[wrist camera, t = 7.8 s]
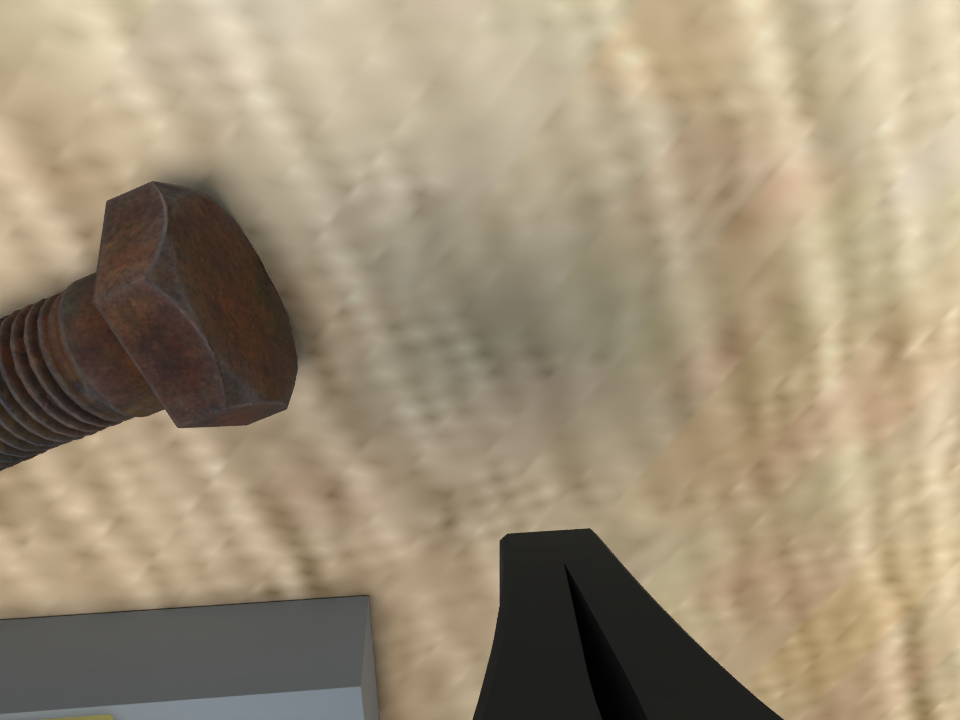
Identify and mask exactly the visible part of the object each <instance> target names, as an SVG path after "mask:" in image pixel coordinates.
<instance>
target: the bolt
mask: <svg viewBox="0 0 960 720" xmlns="http://www.w3.org/2000/svg"><path fill="white" fill-rule="evenodd" d="M297 370H298V365H297V353H296V348H295V345H294V341H293V338H292V334H291V330H290V327H289V323H288V320H287V316H286V313H285V310H284V308H283V305H282V302H281V300H280V297H279V295H278V292H277V290H276V289H275V287H274V285H273V283H272V281H271V280H270V278H269V276H268V274H267V272H266V271H265V268H264V266H263V264H262V262H261V260H260V258H259V256H258V255H257V253H256V251H255V250H254V248H253V247H252V245H251V244H250V242H249V241H248V240H247V238H246V237H245V236H244V234H243V233H242V232H241V230H240V229H239V228H238V226H237V225H236V224H235V223H234V222H233V221H232V220H231V219H230V217H229V216H228V215H227V214H226V213H225V212H224V211H223V210H222V209H221V208H220V207H219V205H218V204H217V203H216V202H215V201H213V200H212V199H211V198H209V197H208V196H207V195H204V194H202V193H200V192H198V191H195V190H192V189H189V188H185V187H182V186H178V185H172V184H166V183H160V182H154V181H152V182H150V183H147V184H145V185H143V186H140V187H138V188H136V189H133V190H131V191H129V192H127V193H124V194H122V195H120V196H117V197H115V198H113V199H110V200H108V201H107V202H106V208H105V215H104V222H103V230H102V237H101V244H100V251H99V258H98V265H97V272H96V273H94V274H91V275H89V276H87V277H84V278H82V279H80V280H77V281H75V282H73V283H72V284H71V285H70V286H69V287H68V288H67V289H66V290H65V291H64V292H62V293H59V294H57V295H54V296H52V297H50V298H47V299H43V300H41V301H39V302H37V303H35V304H33V305H29V306H27V307H25V308H23V309H21V310H17V311H14V312H13V313H12V314H10V315H8V316H5V317H3V318H1V319H0V471H1V470H3V469H5V468H8V467H11V466H14V465H16V464H18V463H20V462H22V461H25V460H28V459H31V458H33V457H35V456H37V455H38V454H41V453H44V452H46V451H47V450H49V449H52V448H55V447H58V446H59V445H62V444H65V443H68V442H71V441H72V440H77V439H81V438H83V437H85V436H87V435H92V434H95V433H96V432H98V431H101V430H103V429H105V428H107V427H109V426H114V425H117V424H119V423H121V422H123V421H126V420H129V419H131V418H134V417H145V416H149V415H151V414H154V413H156V412H159V411H161V410H164V409H165V410H166V411H167V413H168V414H169V416H170V417H171V419H172V420H173V422H174V423H175V425H176V426H177V427H178V428H194V427H219V426H241V425H248V424H251V423H253V422H256V421H258V420H261V419H263V418H266V417H268V416H271V415H273V414H276V413H278V412H281V411H283V410H286V409H287V407H288V404H289V401H290V398H291V395H292V392H293V388H294V385H295V380H296V375H297Z"/></svg>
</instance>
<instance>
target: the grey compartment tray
mask: <svg viewBox="0 0 960 720" xmlns="http://www.w3.org/2000/svg"><path fill="white" fill-rule="evenodd" d="M0 720H380V718H379V706H378V695H377V684H376V672H375V661H374V649H373V638H372V627H371V615H370V604H369V596H356V597H341V598H326V599H311V600H296V601H281V602H266V603H251V604H236V605H221V606H206V607H191V608H176V609H161V610H146V611H131V612H116V613H101V614H86V615H71V616H56V617H41V618H26V619H11V620H0Z"/></svg>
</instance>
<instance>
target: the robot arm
mask: <svg viewBox="0 0 960 720" xmlns="http://www.w3.org/2000/svg"><path fill="white" fill-rule="evenodd" d="M473 720H784V719H782V718H781V717H780V716H778V715H777V714H776V713H775V712H773V711H772V710H771V709H770V708H768V707H767V706H766V705H765V704H764V703H763V702H761V701H760V700H759V699H758V698H757V697H755V696H754V695H753V694H752V693H751V692H750V691H749V690H747V689H746V688H745V687H744V686H743V685H742V684H741V683H739V682H738V681H737V680H736V679H735V678H734V677H733V676H732V675H731V674H730V673H729V672H727V671H726V670H725V669H724V668H723V667H722V666H721V665H720V664H719V663H718V662H717V661H715V660H714V659H713V658H712V657H711V656H710V655H709V654H708V653H707V652H706V651H705V650H704V649H703V648H702V647H701V646H700V645H699V644H698V643H697V642H696V641H695V640H693V639H692V638H691V637H690V636H689V635H688V634H687V633H686V632H685V631H684V630H683V628H682V627H681V626H680V625H679V624H678V623H677V622H676V621H675V620H674V619H673V618H672V617H671V616H670V615H669V614H668V613H667V612H666V611H665V610H664V609H663V608H662V607H661V606H660V605H659V604H658V603H657V602H656V601H655V600H654V599H653V598H652V597H651V595H650V594H649V593H648V592H647V591H646V590H645V589H644V588H643V587H642V586H641V585H640V583H639V582H638V581H637V580H636V579H635V578H634V577H633V576H632V575H631V574H630V572H629V571H628V570H627V569H626V568H625V567H624V566H623V565H622V563H621V562H620V561H619V560H618V559H617V558H616V556H615V555H614V554H613V553H612V552H611V551H610V550H609V548H608V547H607V546H606V545H605V544H604V543H603V541H602V540H601V539H600V538H599V537H598V536H597V534H595V533H594V532H593V531H592V530H591V529H590V528H588V529H573V530H557V531H542V532H527V533H511V534H507V535H506V536H504V537H503V538H502V539H501V540H500V607H499V612H498V618H497V624H496V630H495V635H494V641H493V645H492V650H491V654H490V658H489V662H488V666H487V670H486V673H485V677H484V681H483V685H482V689H481V693H480V697H479V700H478V703H477V707H476V710H475V713H474V717H473Z"/></svg>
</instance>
